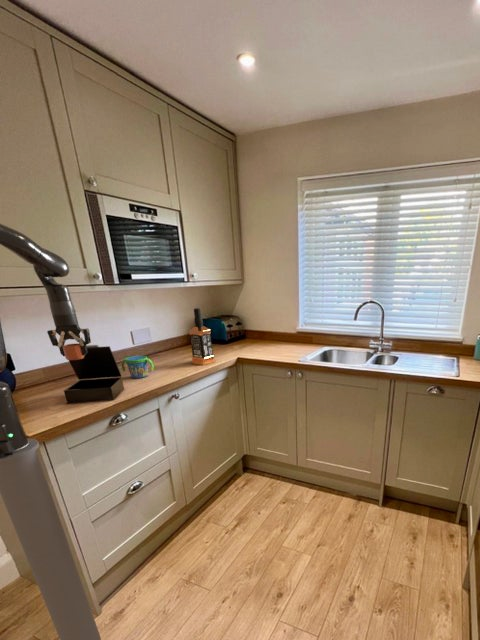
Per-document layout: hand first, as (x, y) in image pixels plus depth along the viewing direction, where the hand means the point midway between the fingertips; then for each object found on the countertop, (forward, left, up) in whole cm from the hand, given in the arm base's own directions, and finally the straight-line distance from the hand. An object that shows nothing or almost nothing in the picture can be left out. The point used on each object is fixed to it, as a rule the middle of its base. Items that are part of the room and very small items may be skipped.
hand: (75, 355), depth 133 cm
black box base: (+6, -2, -20) cm, 21 cm away
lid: (+10, -2, -6) cm, 12 cm away
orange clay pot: (0, 0, -1) cm, 1 cm away
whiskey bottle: (+57, -44, -20) cm, 75 cm away
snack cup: (+34, -13, -20) cm, 42 cm away
